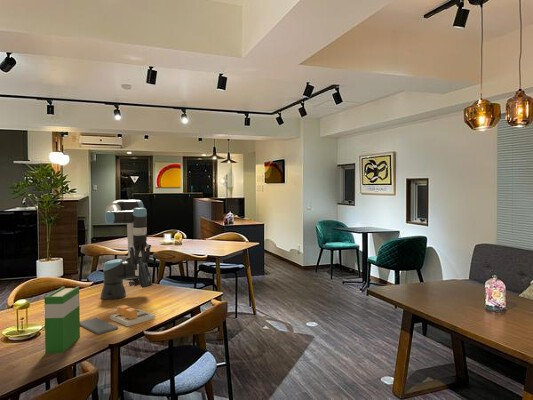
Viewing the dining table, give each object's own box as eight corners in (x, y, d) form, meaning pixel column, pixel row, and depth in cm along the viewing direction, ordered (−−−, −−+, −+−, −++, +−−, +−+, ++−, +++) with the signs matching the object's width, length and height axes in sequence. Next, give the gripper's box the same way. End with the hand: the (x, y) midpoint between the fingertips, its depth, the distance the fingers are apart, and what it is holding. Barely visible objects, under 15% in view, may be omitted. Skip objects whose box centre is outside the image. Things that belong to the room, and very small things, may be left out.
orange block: (125, 317, 207) (125, 309, 206) (132, 315, 210) (131, 307, 209) (130, 319, 203) (130, 311, 203) (137, 317, 206) (137, 309, 206)
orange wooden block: (117, 314, 212) (117, 306, 212) (124, 312, 215) (124, 304, 215) (122, 315, 209) (122, 308, 208) (129, 314, 212) (129, 306, 212)
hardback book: (63, 337, 185) (62, 286, 184) (79, 337, 186) (79, 286, 185) (45, 353, 167) (44, 297, 167) (63, 352, 168) (62, 296, 167)
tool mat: (77, 324, 203) (77, 322, 203) (96, 319, 211) (96, 317, 211) (98, 334, 189) (98, 332, 189) (117, 328, 196) (117, 326, 196)
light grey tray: (110, 319, 211) (110, 315, 211) (137, 312, 223) (137, 308, 223) (127, 326, 200) (127, 322, 200) (154, 318, 212) (154, 314, 212)
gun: (126, 261, 235) (146, 256, 229) (133, 289, 233) (153, 285, 228) (123, 262, 232) (143, 257, 227) (130, 290, 231) (150, 286, 225)
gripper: (130, 236, 220) (130, 278, 221) (156, 233, 232) (156, 273, 233) (123, 235, 225) (123, 276, 226) (148, 232, 237) (148, 271, 238)
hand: (140, 274), depth 229 cm, fingers closed on gun, 3 cm apart
